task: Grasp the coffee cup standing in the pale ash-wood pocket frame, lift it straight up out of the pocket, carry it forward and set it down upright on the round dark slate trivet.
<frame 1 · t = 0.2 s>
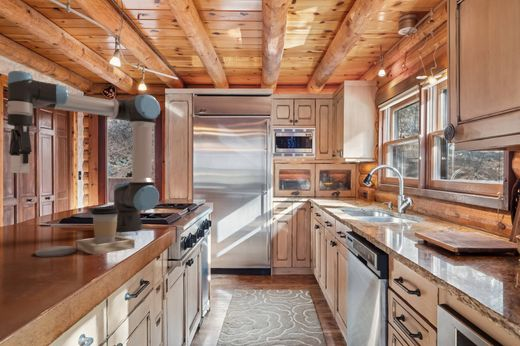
hand: (19, 173, 126), 28 cm above the countertop, fingers open, 13 cm apart
pocket frame: (105, 248, 129), on the countertop
trivet: (56, 252, 121), on the countertop
coffee cup: (105, 248, 129), resting in pocket frame
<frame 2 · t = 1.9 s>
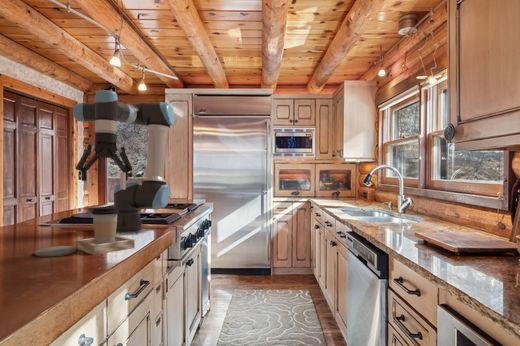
hand: (105, 189, 129), 22 cm above the countertop, fingers open, 13 cm apart
nothing on the countertop moved.
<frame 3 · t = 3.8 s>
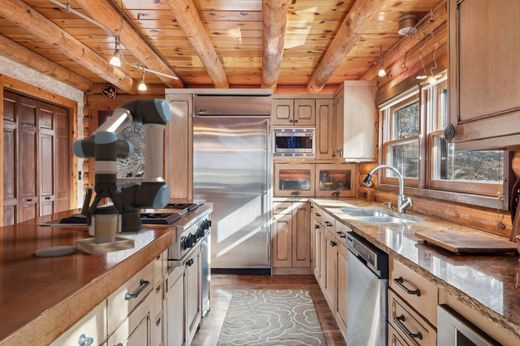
hand: (105, 233, 129), 6 cm above the countertop, fingers closed on coffee cup, 9 cm apart
coffee cup: (105, 248, 129), resting in pocket frame, touching gripper
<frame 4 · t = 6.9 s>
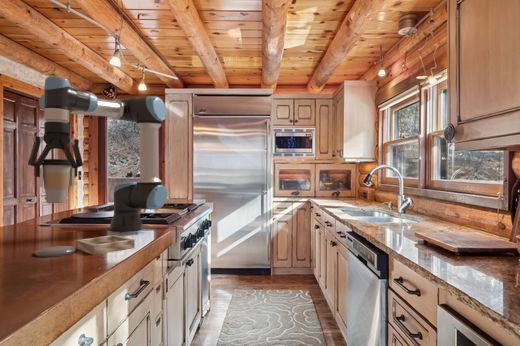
hand: (56, 186, 121), 23 cm above the countertop, fingers closed on coffee cup, 9 cm apart
coffee cup: (56, 203, 121), point 17 cm above the countertop, touching gripper
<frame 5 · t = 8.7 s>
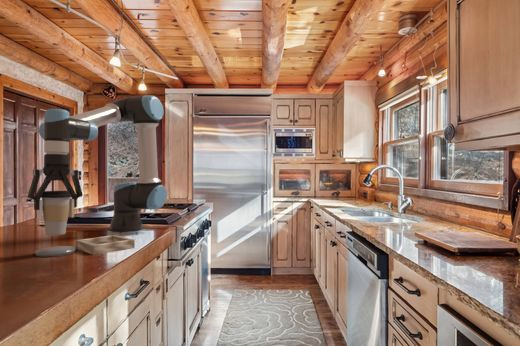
hand: (56, 218, 121), 12 cm above the countertop, fingers closed on coffee cup, 9 cm apart
coffee cup: (55, 234, 121), point 6 cm above the countertop, touching gripper
when the fingers open (8 cm above the countertop, at t = 10.1 s): coffee cup drops 1 cm, resting on trivet.
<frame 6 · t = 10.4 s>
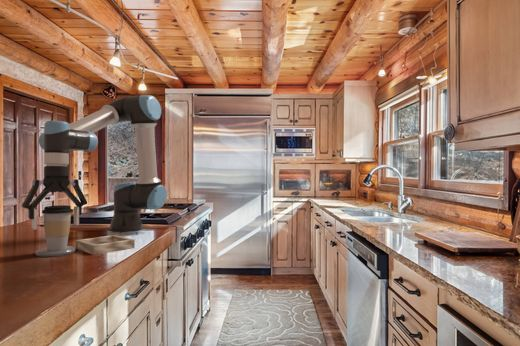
hand: (56, 226, 121), 9 cm above the countertop, fingers open, 13 cm apart
coffee cup: (57, 249, 121), point 1 cm above the countertop, touching trivet
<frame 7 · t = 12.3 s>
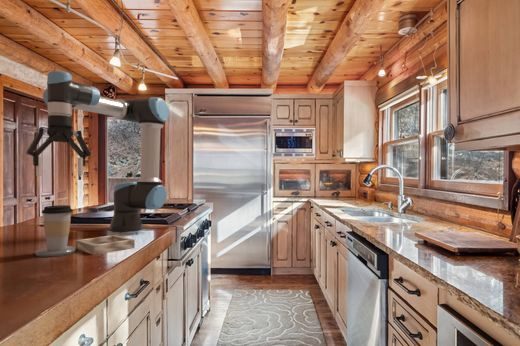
hand: (60, 175, 124), 27 cm above the countertop, fingers open, 13 cm apart
nothing on the countertop moved.
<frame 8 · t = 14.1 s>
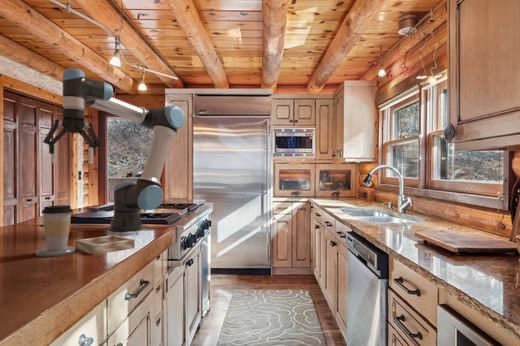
hand: (73, 163, 136), 32 cm above the countertop, fingers open, 13 cm apart
nothing on the countertop moved.
at the end: coffee cup 0.4 cm from the trivet (horizontally); coffee cup tilted 0°; coffee cup touching trivet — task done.
